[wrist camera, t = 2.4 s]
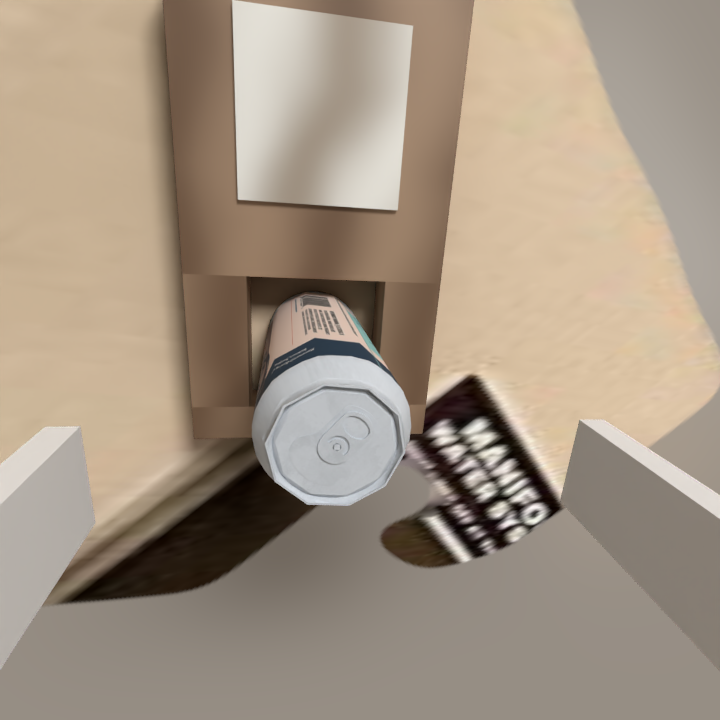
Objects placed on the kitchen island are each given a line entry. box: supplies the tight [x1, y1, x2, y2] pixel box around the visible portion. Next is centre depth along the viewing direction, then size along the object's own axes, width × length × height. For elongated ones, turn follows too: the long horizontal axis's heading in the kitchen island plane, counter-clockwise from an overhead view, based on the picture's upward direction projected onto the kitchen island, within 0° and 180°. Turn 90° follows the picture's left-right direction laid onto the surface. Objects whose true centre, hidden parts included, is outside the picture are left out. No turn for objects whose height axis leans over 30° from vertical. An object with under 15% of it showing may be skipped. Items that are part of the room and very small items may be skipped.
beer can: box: [252, 291, 411, 506], centre depth 17 cm, size 5×5×12 cm
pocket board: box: [163, 0, 474, 439], centre depth 20 cm, size 12×20×2 cm, turn 177°
